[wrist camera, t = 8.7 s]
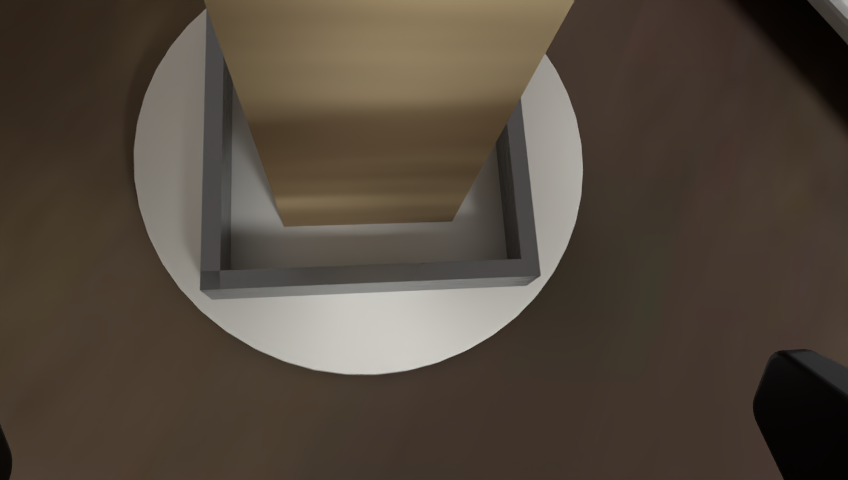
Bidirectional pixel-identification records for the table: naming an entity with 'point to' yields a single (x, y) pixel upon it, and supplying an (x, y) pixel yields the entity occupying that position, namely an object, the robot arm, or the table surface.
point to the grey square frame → (354, 278)
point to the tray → (834, 14)
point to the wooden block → (379, 97)
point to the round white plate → (346, 233)
